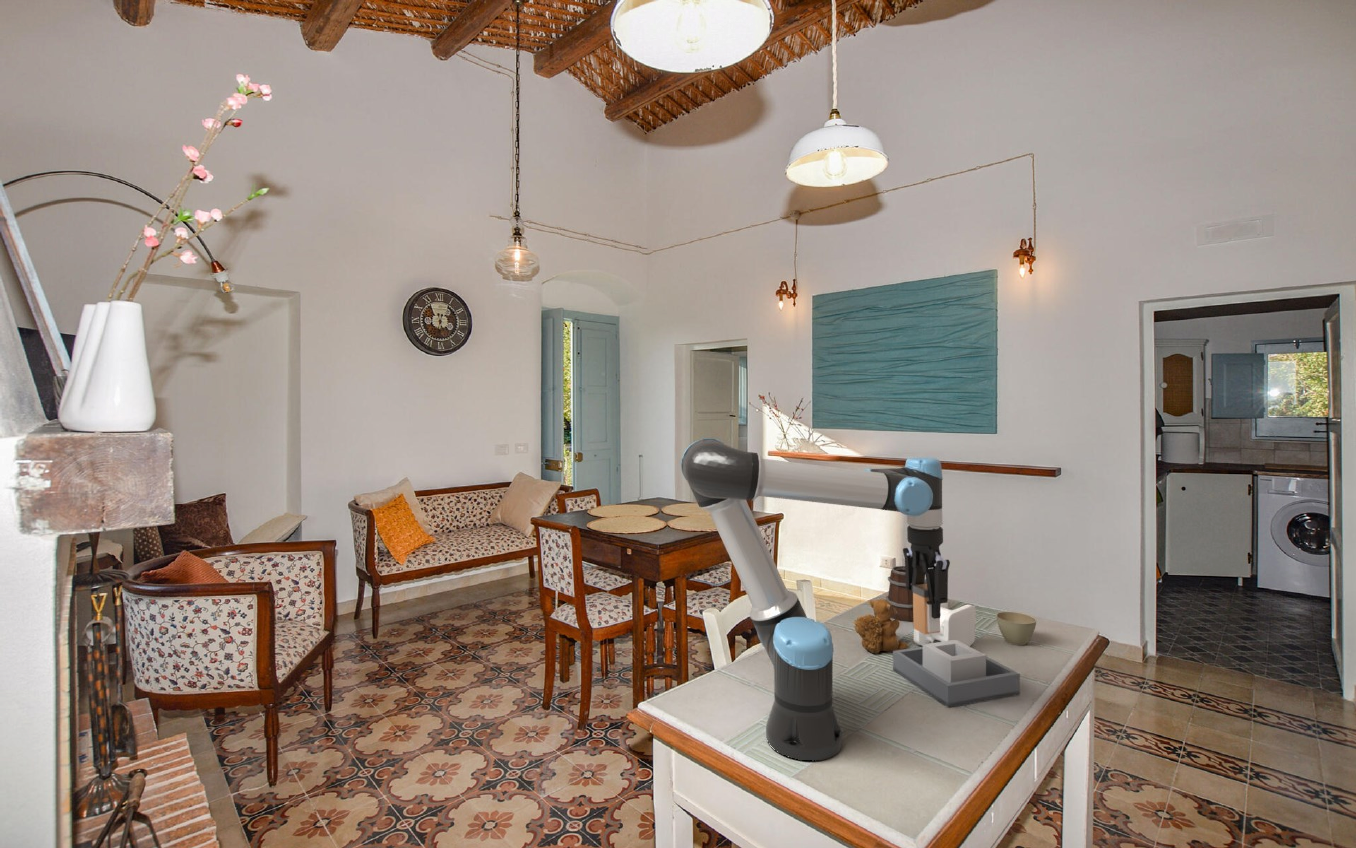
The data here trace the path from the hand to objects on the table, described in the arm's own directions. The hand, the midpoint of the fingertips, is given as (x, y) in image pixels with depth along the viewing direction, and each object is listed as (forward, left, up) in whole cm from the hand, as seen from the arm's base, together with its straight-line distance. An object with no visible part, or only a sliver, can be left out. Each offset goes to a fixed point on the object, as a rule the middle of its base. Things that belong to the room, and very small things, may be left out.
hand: (926, 627), depth 139 cm
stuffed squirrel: (+7, +29, -18) cm, 35 cm away
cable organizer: (+26, +25, -18) cm, 40 cm away
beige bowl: (+47, +21, -18) cm, 54 cm away
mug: (+32, +47, -18) cm, 59 cm away
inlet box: (+13, +6, -17) cm, 22 cm away
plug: (0, 0, -1) cm, 1 cm away
